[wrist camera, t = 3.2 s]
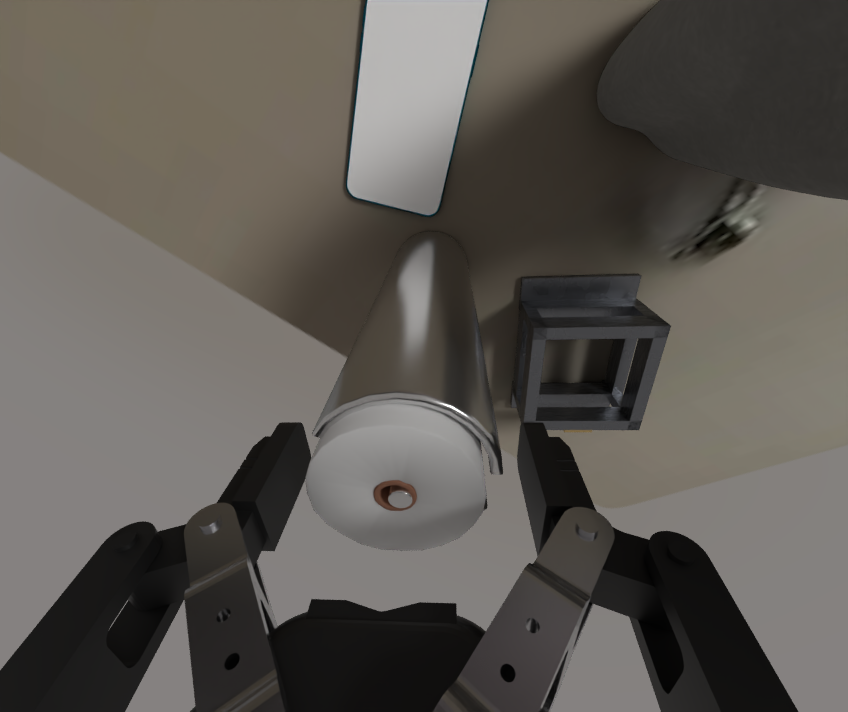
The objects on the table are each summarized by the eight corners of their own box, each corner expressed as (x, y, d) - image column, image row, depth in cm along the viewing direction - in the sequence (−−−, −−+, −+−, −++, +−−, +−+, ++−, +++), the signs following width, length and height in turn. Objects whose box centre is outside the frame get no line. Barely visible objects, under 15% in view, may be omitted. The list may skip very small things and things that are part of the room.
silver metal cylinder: (432, 315, 35) (408, 586, 14) (380, 269, 33) (254, 498, 12) (483, 267, 33) (553, 503, 11) (429, 213, 31) (387, 371, 9)
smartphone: (438, 217, 31) (499, -42, 23) (438, 219, 31) (501, -48, 23) (345, 194, 31) (376, -78, 23) (343, 195, 30) (373, -86, 22)
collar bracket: (521, 276, 33) (536, 303, 27) (638, 273, 32) (678, 300, 27) (510, 404, 40) (521, 446, 34) (606, 403, 39) (633, 447, 33)
